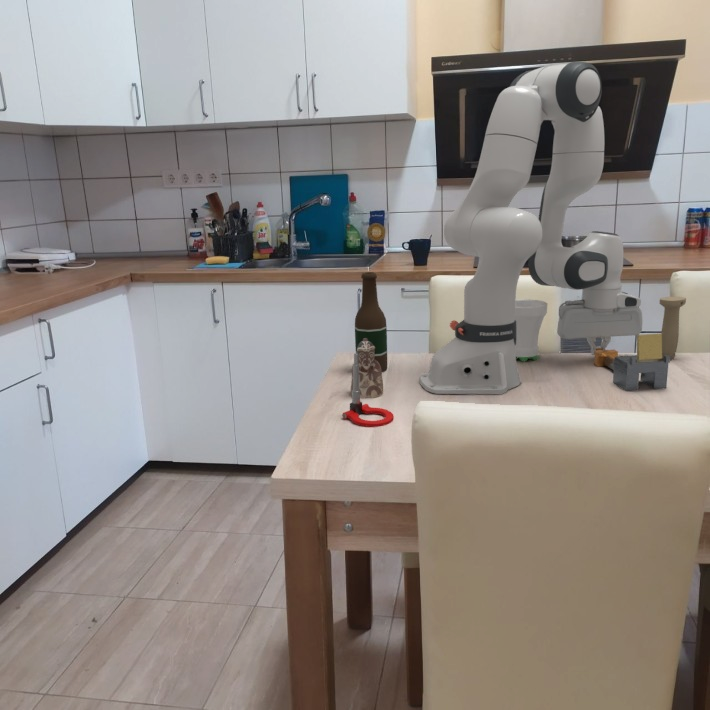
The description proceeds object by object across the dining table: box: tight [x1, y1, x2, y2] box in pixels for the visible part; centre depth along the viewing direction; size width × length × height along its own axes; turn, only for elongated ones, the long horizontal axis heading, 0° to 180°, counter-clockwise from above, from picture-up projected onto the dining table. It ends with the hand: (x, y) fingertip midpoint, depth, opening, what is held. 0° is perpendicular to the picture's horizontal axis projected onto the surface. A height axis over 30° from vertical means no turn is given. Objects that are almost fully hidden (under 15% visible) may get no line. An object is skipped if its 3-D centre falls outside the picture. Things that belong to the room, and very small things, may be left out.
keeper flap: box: [636, 333, 664, 363], centre depth 141 cm, size 6×6×1 cm
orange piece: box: [593, 349, 619, 371], centre depth 157 cm, size 5×12×3 cm, turn 5°
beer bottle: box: [354, 271, 388, 373], centre depth 162 cm, size 8×8×24 cm
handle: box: [659, 295, 687, 360], centre depth 164 cm, size 5×6×15 cm
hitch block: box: [612, 354, 671, 392], centre depth 145 cm, size 9×7×7 cm
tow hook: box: [342, 352, 395, 428], centre depth 131 cm, size 8×13×9 cm
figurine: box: [350, 338, 384, 399], centre depth 146 cm, size 7×7×12 cm
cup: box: [515, 298, 548, 362], centre depth 169 cm, size 11×11×14 cm
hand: (597, 354), depth 166 cm, fingers closed
